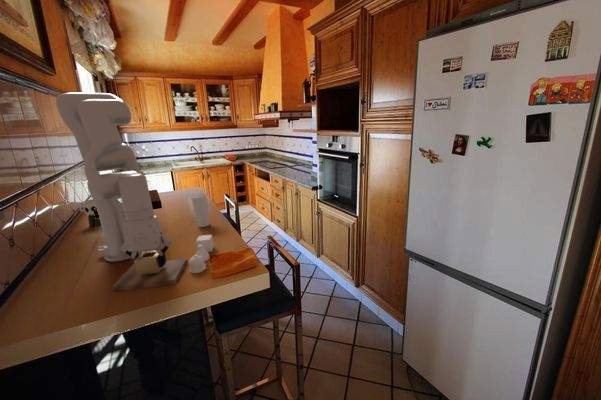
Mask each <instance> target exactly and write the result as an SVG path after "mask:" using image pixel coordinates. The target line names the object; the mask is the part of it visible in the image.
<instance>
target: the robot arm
mask: <svg viewBox="0 0 601 400" xmlns="http://www.w3.org/2000/svg"><path fill="white" fill-rule="evenodd" d="M55 105H56V108H57V111H58V114H59V116H60V118H61V120H62V121H63V122H64V124H65V125H66V127H67V128H68V129H69V131H70V132H71V133H72V135H73V137H74V138H75V141H76V145H77V147H78V149H79V152H80V154H81V158H82V161H83V163H84V164H83V168H84V170H83V171H84V174H85V177H86V181H87V189H88V192H89V194H90V196H91V198H92V199H93V201H94V203H95V205H96V208H97V212H98V215H99V219H100V222H101V224H100V226H101V230H102V233H103V236H104V241H105V244H106V245H99V246H98V247H97V254H103V253H105V255H104V261H106V262H110V263H111V262H112V263H114V262H121V261H125V260H129V259H131V260H133V261H134V260H135V259H136V258H137V257H138V256H139V255H140V254H141V253H142V252H143V251H152V250H156V251H157V253H158V254H159V256H158V259H159V264H160V267H163V266H164V265H165V263H166V261H167V257H166V252H167V250H168V249H169V248H170V247H171V245H172V244H173V243H174V241H173V240H172V239H170V238H169V237H167V236H166V235H164V233H163V232H164V231H163V229H162V226H161V224H160V220H159V219H158V217H157V215H156V214H154V213H155V212H154V209H153V204H152V200H151V195H150V190H149V186H148V181H147V178H146V176H145V174H144V173H142V172H141V170H140V166H139V163H138V161H137V158H136V155H135V152H134V150H133V148H131V147H130V145H129V144H127V143H125V142H123V139H122V136H121V134H120V132H119V130H118V127H117V126H128V125H129V124H130V123H131V122H132V113H131V110H130V108H129V106H128V105H127V103H126V102H125V101H124V100H123V99H122V98H119V97H118V96H116V95H115V94H112V93H109V92H108V93H106V92H86V91H85V92H84V91H83V92H81V91H79V92H74V91H73V92H71V91H70V92H64V93H60V94H59V95H57V97H56V99H55ZM119 169H120V170H122V171H115V172H108V173H102V174H99V172H105V171H114V170H119ZM119 199H121V201H119ZM163 244H165V245H164V246H163ZM133 264H135V263H134V262H133Z"/></svg>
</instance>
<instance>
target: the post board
mask: <svg viewBox="0 0 601 400" xmlns="http://www.w3.org/2000/svg"><path fill="white" fill-rule="evenodd" d="M148 257H153V256H148ZM187 264H188V259H187V258H180V259H179V258H178V259H172V260H171V259H168V260H166V263H165V265H164V266H163V267H162V269H161V270H160V272H159V273H151V274H142V275H137V271H136V267H135V264H134V263H133V264H132V265H131V266H130V267H129V268H128V269H127V270H126V271H125V272H124V274H123V275H121V277H120V278H119V279H118V280H117V281H116V282H115V283H114V284H113V285H112V286H111V287H112V291H113V292H118V291H127V290H134V289H144V288H145V289H146V288H152V287H153V288H154V287H162V286H168V285H176V284H177V282H178V280H179V279H180V277H181V275H182V273H183V272H184V269H185V268H186V266H187Z"/></svg>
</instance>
